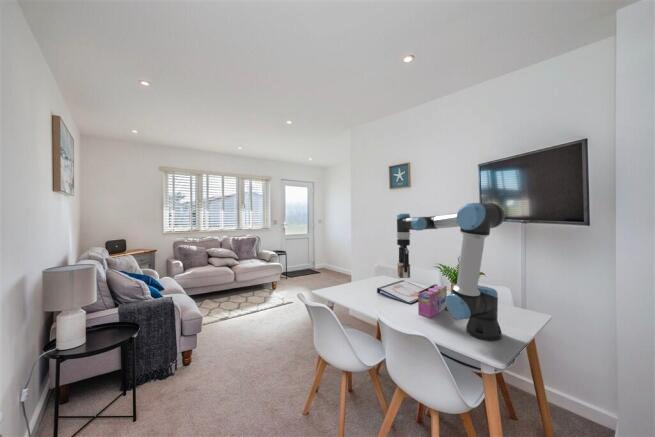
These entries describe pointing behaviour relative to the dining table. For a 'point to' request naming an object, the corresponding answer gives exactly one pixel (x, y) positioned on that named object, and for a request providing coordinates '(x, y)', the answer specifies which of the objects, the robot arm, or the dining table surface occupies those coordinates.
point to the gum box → (432, 300)
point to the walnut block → (400, 270)
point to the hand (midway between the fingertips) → (403, 276)
